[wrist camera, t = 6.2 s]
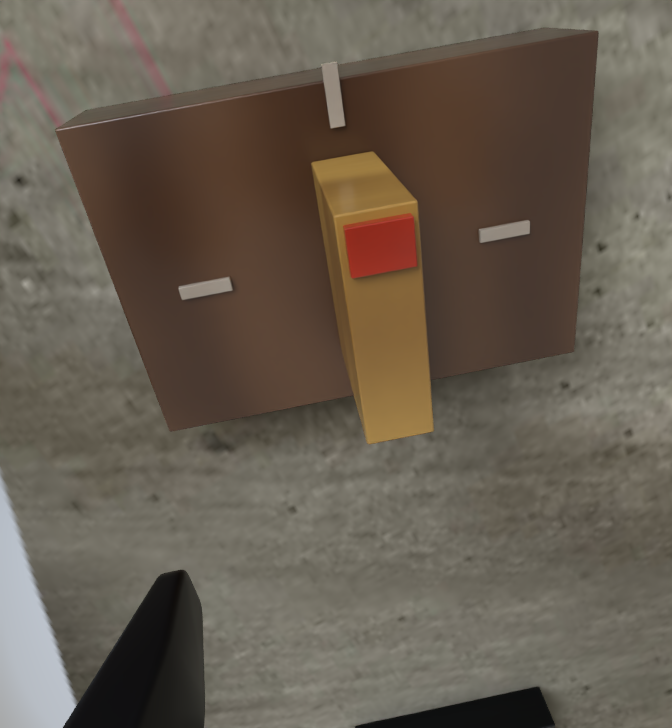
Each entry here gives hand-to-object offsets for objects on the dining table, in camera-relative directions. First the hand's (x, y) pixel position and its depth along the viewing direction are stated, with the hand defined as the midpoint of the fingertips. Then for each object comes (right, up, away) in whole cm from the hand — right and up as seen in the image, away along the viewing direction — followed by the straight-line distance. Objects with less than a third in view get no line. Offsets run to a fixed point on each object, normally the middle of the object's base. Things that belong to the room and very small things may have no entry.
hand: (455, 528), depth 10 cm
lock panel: (-2, +7, +9) cm, 12 cm away
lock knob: (-1, +6, +6) cm, 9 cm away
